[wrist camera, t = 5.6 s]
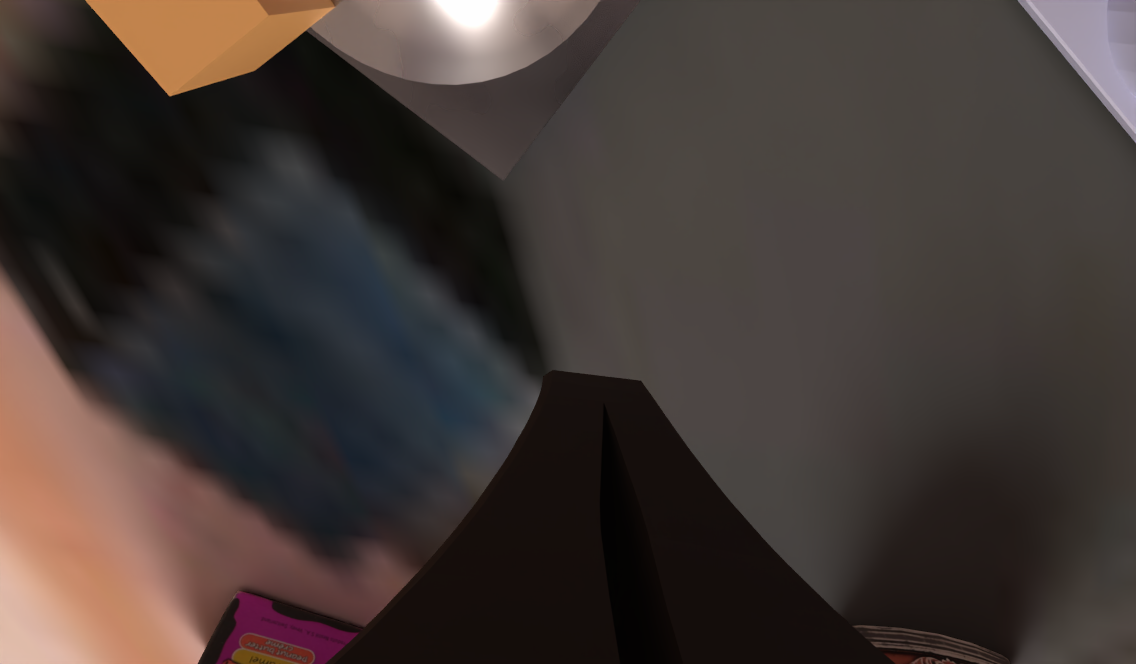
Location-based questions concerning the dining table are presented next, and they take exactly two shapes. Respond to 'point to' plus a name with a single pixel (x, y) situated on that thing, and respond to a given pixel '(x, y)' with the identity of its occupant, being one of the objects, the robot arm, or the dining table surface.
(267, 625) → the candy bar box
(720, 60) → the dining table surface
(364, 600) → the dining table surface
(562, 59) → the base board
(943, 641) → the lighter
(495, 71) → the flange plate
